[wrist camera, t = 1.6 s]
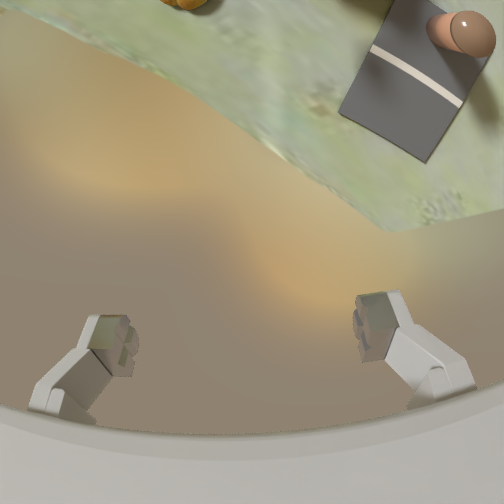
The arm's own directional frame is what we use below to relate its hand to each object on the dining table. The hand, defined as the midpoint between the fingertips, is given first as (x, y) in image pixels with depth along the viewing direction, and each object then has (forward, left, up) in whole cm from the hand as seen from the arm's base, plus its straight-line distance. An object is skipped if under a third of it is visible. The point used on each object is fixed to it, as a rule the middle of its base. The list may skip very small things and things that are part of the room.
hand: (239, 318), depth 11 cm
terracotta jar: (-17, +11, -39) cm, 44 cm away
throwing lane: (-9, +11, -40) cm, 42 cm away
